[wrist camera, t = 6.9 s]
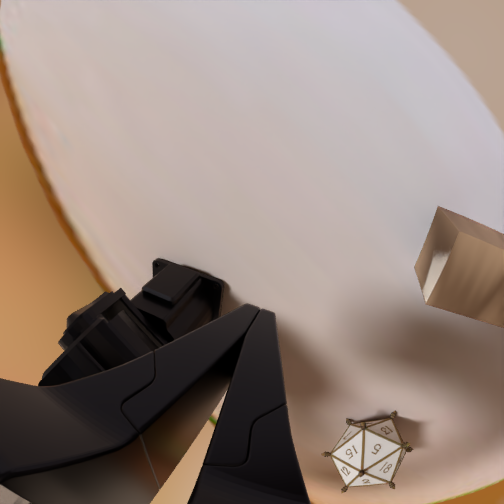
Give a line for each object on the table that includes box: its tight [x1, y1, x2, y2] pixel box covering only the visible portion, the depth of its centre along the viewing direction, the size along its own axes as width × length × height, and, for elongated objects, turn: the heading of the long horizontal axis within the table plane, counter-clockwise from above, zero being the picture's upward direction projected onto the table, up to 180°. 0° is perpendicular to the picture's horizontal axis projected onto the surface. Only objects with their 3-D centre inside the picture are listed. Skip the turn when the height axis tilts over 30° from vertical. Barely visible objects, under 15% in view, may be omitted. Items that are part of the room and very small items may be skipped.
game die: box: [321, 411, 413, 493], centre depth 22 cm, size 9×8×10 cm
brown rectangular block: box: [414, 206, 504, 328], centre depth 14 cm, size 4×4×9 cm
